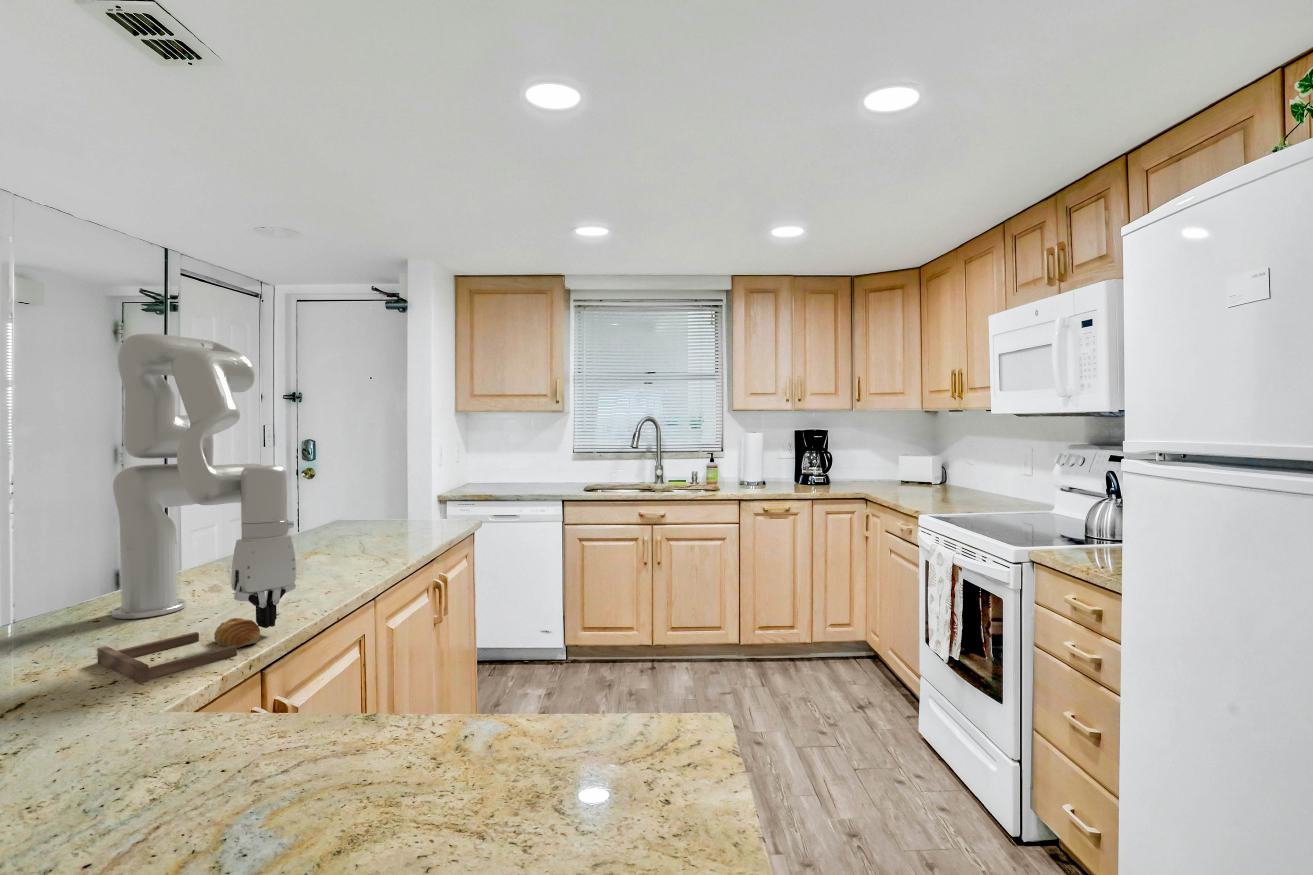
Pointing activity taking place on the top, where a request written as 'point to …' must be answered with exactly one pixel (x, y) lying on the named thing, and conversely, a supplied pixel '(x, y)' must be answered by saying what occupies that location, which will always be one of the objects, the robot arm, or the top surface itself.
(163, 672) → the bay
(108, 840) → the top surface
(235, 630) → the pastry
